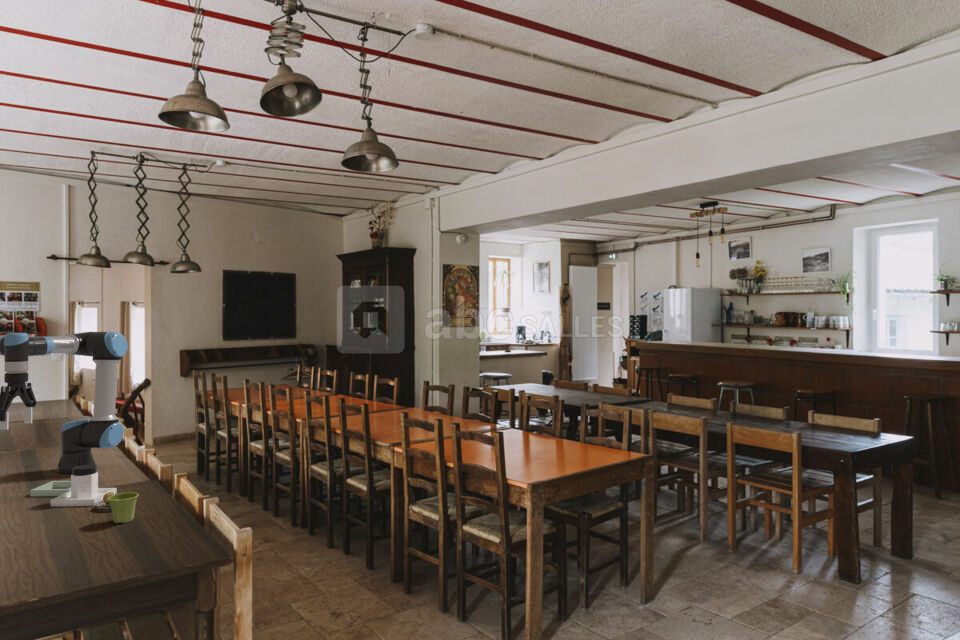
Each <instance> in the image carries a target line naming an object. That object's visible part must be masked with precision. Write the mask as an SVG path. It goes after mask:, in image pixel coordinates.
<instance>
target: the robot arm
mask: <svg viewBox="0 0 960 640" xmlns="http://www.w3.org/2000/svg"><path fill="white" fill-rule="evenodd" d="M128 347H129V346H128V340H127V339H126V337H125V336H124V335H123V334H122V333H120V332H119V331H118V332H117V331H116V332H115V331H85V332H84V331H83V332H79V333H78V332H76V333H67V334H65V335H60V336H59V335H57V336H54V335H53V336H29V334H28V333H27V332H9V333H8V332H7V333H6V334H5V335H4V336H0V356H4V357H3V358H4V372H5V373H4V374H3V376H4V379H3V380H4V383H6V384H7V385H5V386H4V385H3V386H1V387H0V430H9V420H10V419H9V417H10V416H9V413H10V412H9V411H8V410H9V408H10V406H11V405H12V403H13V400H14V399H15V398H16V397H19V398H20V400H21V401H22V403H23V404H24V408H23V416H24V417H23V424H28V425H29V424H33V410H34V409H33V408H35V407H36V405H37V399H36V396H35V394H34V392H33V388H32V383H31V382H29V372H28V371H29V357H34V356H35V357H36V356H37V357H38V356H46V355H47V356H48V355H51V354H65V355H68V356H72V355H73V356H74V355H75V356H85V357H92V362H93V363H95V378H94V379H95V380H94V381H95V382H94V402H93V403H94V404H93V416H92V417H90V418H83V419H77V420H76V419H75V420H71V421H68V422H64V423H62V426H61V431H60V432H61V455H60V458H59V461H58V464H57V467H56V469H57V470H56V471H57V473H60V474H72V468H73V467H76V466H80V465H89V464H92V465H96V461H95V457H94V456H93V451H92V449H103V450H104V449H113V448H115V447H117V446H118V445H119V444H120V443H121V441H122V440H123V438H124V434H125V428H124V426H123V424H121V422H119V417H118V416H117V415H116V400H117V381H118V379H117V378H118V364H119V363H120V362H121V361H122V357H124V356H125V355H126V354H127V352H128Z"/></svg>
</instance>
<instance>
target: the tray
mask: <svg viewBox="0 0 960 640" xmlns="http://www.w3.org/2000/svg"><path fill="white" fill-rule="evenodd" d="M117 490H118V489H117V487H98V496H96V497H94V498H92V499H71V491H69V492H67V493H65V494H62V495H60V496H55V497H54V498H52V499H50V507H95V505H96V504H98V503H100V502H102V501H103V502H104V500H103V497H104V495H105V494H107V493H109V492H114V495H115V494H118V493H117V492H118V491H117ZM105 491H106V492H105Z"/></svg>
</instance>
